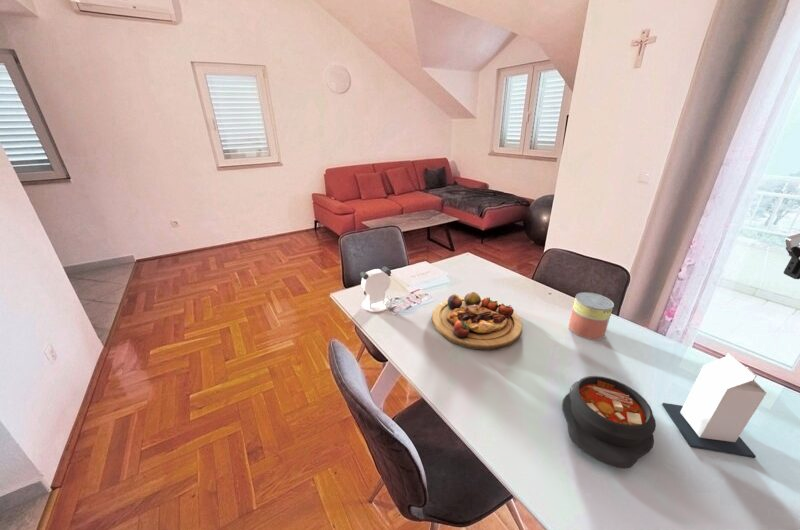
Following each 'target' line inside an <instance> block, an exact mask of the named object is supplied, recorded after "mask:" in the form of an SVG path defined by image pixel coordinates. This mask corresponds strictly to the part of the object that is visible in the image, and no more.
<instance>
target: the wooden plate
mask: <svg viewBox="0 0 800 530" xmlns="http://www.w3.org/2000/svg"><path fill="white" fill-rule="evenodd" d="M431 323H432V326H433V327H434V330H436V332H437V333H438V334H439V335H440V336H442V337H443V338H445V339H446V340H448V341H449V342H451V343H453V344H456V345H458V346H461V347H465V348H469V349H475V350H497V349H502V348H505V347H508V346H510V345H512V344H513V343H516V342H517V340H518V339H520V337H521V335H522V333H523V322H522V319H521V318H520V316H519V315H518V314H517V313H516V312H515V311H514V308H513V306H512V305H511V304H509V305H505V304H504V303H501V302H499V301H498V300H493V299H491V297H490V296H489V297H481V296H480V295H479V294H478V293H477V292H475V291H472V292H468V293H467V294H466V295H464V296H460V295H459V294H456V293H453V294H451V295H450V296H449V297H448V298H447V299H446V300H443V301H442V302H440V303H438V305H436V306H435V308H434V309H433V311H432V313H431Z"/></svg>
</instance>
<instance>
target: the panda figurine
mask: <svg viewBox="0 0 800 530" xmlns="http://www.w3.org/2000/svg"><path fill="white" fill-rule="evenodd" d="M391 274H392V271H391V270H390V269H389V268H388V267H386V266H382V268H381V269H380V268H374V269H370V270H368V271H360V273H359V275H360V277H361V281H360V286H361V289H362V290H363V295H364V296H365V299H364V300H363V301H362V302H361V308H362V309H363V310H364V311H366V312H369V313H380V312H384V311H386V310H387V309H388V308H386V305H385V304H386V302H387V301H389V302H390V300H389V298H388V299H387V298H386V292H387V291H388V289H389V288H390V287H391V282H392V281H391V278H390V275H391Z"/></svg>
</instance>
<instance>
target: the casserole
mask: <svg viewBox="0 0 800 530" xmlns="http://www.w3.org/2000/svg"><path fill="white" fill-rule="evenodd" d="M561 409H562V414H563V416H564V418H565V421H566V425H567V431H568V432H567V433H568V437H569V438H570V441H572V443H573V444H574V445H575V446H577V448H578V449H580V450H581V451H582V452H584V453H585V454H586V455H588V456H590V457H591V458H593V459H595V460H596V461H598V462H600V463H603V464H605V465H607V466H611V467H613V468H618V469H623V470H625V469H630V468H632V467H633V466H634V465H635V464H636V463H637V461H638V460H639V459H640V458H642V457H643V456H645V455H647V454H648V453H650V451H651V450H652V449H653V447H654V443H655V439H654V438H655V437H654V433H655V431H656V427H657V423H656V419H655V416H654V413H653V410H652V407H651V406H650V403H648V401H647V400H646V399H645V398H644V397H643V396H642V395H641V394H640V393H639V392H638V391H636V390H635V389H633V388H631V387H630V386H629V385H627V384H624V383H623V382H621V381H619V380H616V379H613V378H610V377H606V376H601V375H589V376H584V377H582V378H580V379H579V380H578V381H577V380H576V381H575V382H574V383H573V384H572V385H571V386H570V388H569V392H568V393H566V395H565V396H564V397H563V399H562V403H561Z"/></svg>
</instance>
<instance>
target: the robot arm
mask: <svg viewBox="0 0 800 530" xmlns="http://www.w3.org/2000/svg"><path fill="white" fill-rule="evenodd" d="M784 241H785V246H786V247H785V250H786V251H787V253H788V256H789V257H791V258H790V260H789V261H788V263H787V265H786V267H785V268H784V270H783V275H786V276H788V277H790V278H792V279H793V280H800V233H797V234H796V233H795V234H794V235H789V236H787V237H786V238H785V240H784Z"/></svg>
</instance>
